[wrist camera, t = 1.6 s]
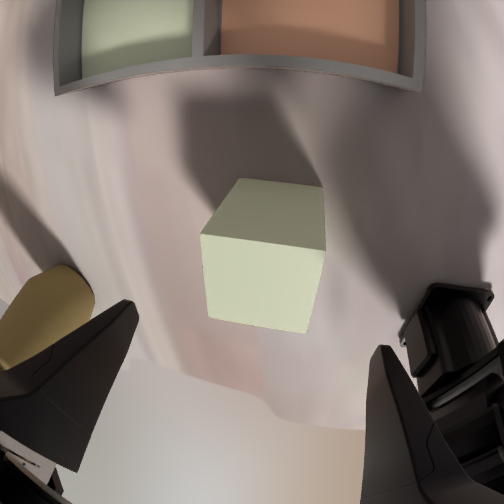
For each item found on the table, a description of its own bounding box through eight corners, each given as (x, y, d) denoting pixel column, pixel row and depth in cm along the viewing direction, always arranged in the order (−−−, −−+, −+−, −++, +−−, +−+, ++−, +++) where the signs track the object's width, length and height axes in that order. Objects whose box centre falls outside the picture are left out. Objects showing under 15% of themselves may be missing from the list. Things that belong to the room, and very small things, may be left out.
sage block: (322, 187, 14) (326, 250, 9) (311, 256, 17) (305, 333, 12) (239, 177, 15) (200, 233, 10) (239, 246, 17) (208, 317, 13)
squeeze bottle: (41, 245, 22) (-65, 370, 8) (96, 268, 22) (-19, 431, 8) (59, 298, 27) (-19, 411, 13) (110, 323, 27) (33, 459, 12)
